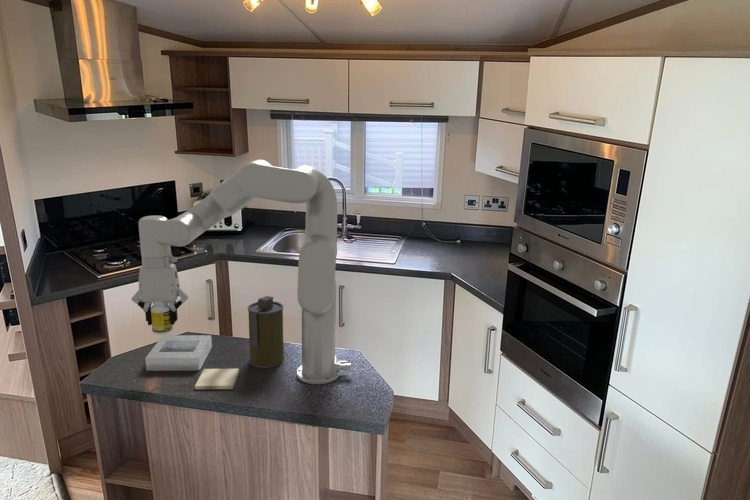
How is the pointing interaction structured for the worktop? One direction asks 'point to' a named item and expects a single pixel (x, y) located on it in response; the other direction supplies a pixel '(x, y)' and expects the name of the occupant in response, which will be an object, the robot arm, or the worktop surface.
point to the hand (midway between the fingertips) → (162, 322)
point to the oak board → (217, 379)
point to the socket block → (179, 353)
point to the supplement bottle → (161, 318)
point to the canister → (266, 333)
